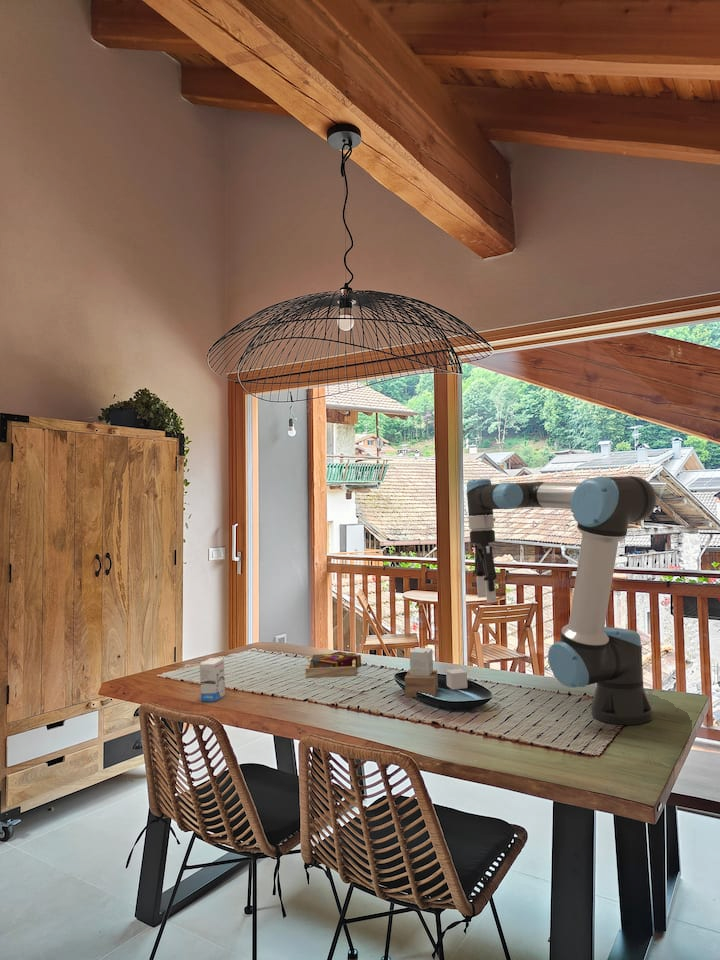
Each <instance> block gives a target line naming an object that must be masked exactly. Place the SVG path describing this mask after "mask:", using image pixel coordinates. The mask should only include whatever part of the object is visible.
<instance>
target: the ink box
mask: <svg viewBox="0 0 720 960" xmlns="http://www.w3.org/2000/svg"><path fill="white" fill-rule="evenodd" d="M199 678H200V679H199V682H200V699H201V702H202V703H203V702H205V703H206V702H208V703H209V702H210V703H211V702H213V703H214V702H215V703H216V702H218V700H220V699H221V698H223V697H224V696H225V695H226V682H225V679H226V678H225V659H224V658H222V657H219V658H218V657H210V658H208V659H205V660H204V661H201V662H200V664H199Z"/></svg>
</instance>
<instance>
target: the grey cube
mask: <svg viewBox="0 0 720 960" xmlns="http://www.w3.org/2000/svg"><path fill="white" fill-rule="evenodd" d="M445 675H446V686H447V687H448V688H449V689H451V690H453V691H454V690H460V689H461V690H462V689H468V672H467V671H466V670H464V669H462V668H454V669H446V670H445Z"/></svg>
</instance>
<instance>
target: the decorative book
mask: <svg viewBox="0 0 720 960" xmlns="http://www.w3.org/2000/svg"><path fill="white" fill-rule="evenodd" d="M349 653H350V652H346V651H345V652H344V651H335V652H332V653H329V654H330V655H323V657H320V658H315V659H311V662H313V667H312V668H325V667H348V666H352V662H353V660H355V659H356V668H359V667H361V666H362V655H361V654H357V653H356V654H349Z"/></svg>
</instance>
